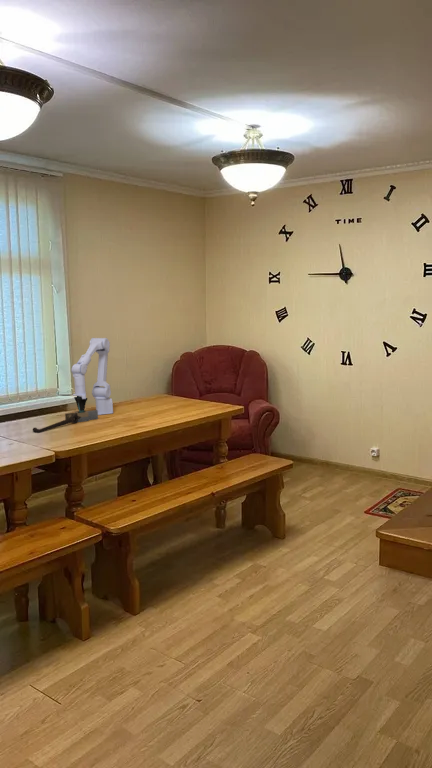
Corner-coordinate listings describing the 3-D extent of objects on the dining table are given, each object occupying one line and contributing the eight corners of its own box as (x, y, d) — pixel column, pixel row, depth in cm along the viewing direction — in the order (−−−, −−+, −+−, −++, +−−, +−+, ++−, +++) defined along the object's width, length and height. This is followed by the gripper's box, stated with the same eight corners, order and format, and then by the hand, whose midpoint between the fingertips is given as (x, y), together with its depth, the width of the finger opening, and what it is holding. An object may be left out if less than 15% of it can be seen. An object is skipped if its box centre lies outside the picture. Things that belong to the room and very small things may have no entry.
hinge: (96, 417, 352) (95, 409, 351) (99, 419, 347) (98, 410, 346) (64, 421, 344) (63, 412, 343) (67, 423, 339) (66, 414, 338)
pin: (84, 414, 347) (83, 396, 346) (86, 415, 344) (84, 397, 343) (77, 415, 346) (76, 397, 344) (79, 416, 342) (78, 398, 341)
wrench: (32, 435, 320) (75, 420, 344) (38, 436, 317) (82, 421, 342) (31, 425, 319) (74, 411, 343) (37, 427, 316) (81, 412, 340)
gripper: (69, 384, 347) (70, 408, 349) (76, 388, 334) (77, 412, 336) (81, 383, 350) (83, 407, 352) (89, 386, 337) (90, 411, 339)
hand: (81, 410), depth 344 cm, fingers closed on pin, 3 cm apart
